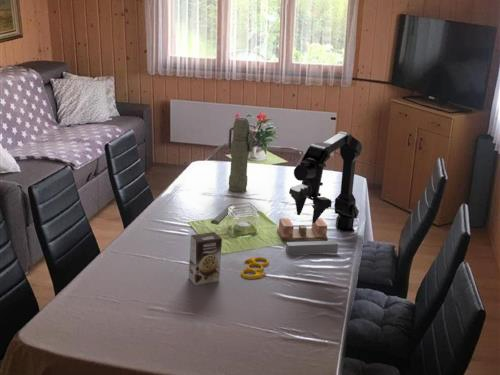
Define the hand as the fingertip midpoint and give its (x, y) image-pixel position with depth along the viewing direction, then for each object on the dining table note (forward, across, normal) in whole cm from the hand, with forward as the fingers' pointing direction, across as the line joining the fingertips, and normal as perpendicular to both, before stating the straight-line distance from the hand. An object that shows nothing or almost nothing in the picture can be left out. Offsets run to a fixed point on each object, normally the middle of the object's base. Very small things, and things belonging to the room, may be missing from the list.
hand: (305, 218), depth 228 cm
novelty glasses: (+18, +3, -22) cm, 28 cm away
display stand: (+12, -13, +11) cm, 21 cm away
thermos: (+8, -70, +15) cm, 72 cm away
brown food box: (+21, +2, -42) cm, 47 cm away
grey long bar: (+14, 0, +6) cm, 15 cm away
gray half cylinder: (+14, -45, -7) cm, 48 cm away
